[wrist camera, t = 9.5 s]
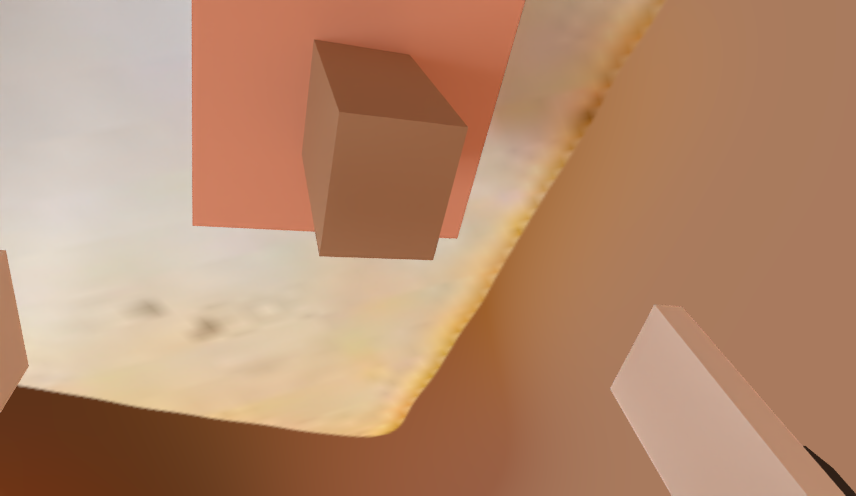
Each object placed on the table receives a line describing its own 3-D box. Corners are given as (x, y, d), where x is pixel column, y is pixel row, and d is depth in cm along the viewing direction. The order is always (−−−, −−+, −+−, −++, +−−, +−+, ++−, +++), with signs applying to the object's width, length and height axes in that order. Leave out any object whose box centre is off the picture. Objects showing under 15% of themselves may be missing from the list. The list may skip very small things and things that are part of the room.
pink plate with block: (194, 212, 26) (173, 348, 19) (194, -107, 20) (161, -85, 12) (450, 226, 31) (513, 341, 23) (521, -32, 24) (640, 17, 17)
